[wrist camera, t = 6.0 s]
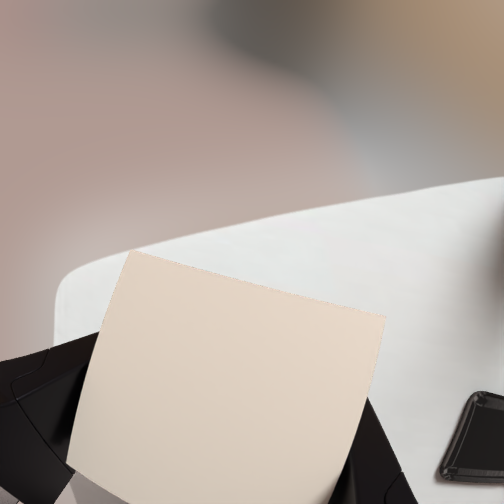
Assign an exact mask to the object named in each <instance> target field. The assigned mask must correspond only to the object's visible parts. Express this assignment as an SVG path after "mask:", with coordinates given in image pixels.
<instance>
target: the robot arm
mask: <svg viewBox="0 0 504 504" xmlns="http://www.w3.org/2000/svg"><path fill="white" fill-rule="evenodd" d="M99 332H100V331H99ZM99 332H96V333H93V334H90V335H88V336H85V337H82V338H79V339H76V340H73V341H70V342H67V343H64V344H61V345H58V346H55V347H52V348H50V350H49V349H46V350H43V351H40V352H36V353H33V354H30V355H26V356H23V357H18V358H14V359H11V360H5V361H1V362H0V504H17V503H18V502H19V501H21V502H22V503H24V504H54V503H55V501H56V500H57V498H58V497H59V495H60V494H61V492H62V491H63V489H64V488H65V487H66V485H67V484H68V482H69V481H70V479H71V478H72V476H73V474H74V473H75V472H76V470H75V469H73V468H72V467H70V466H69V465H68V464H66V461H67V455H68V450H69V445H70V439H71V435H72V430H73V425H74V421H75V416H76V412H77V408H78V404H79V400H80V396H81V392H82V388H83V385H84V381H85V377H86V374H87V370H88V367H89V363H90V360H91V357H92V354H93V350H94V347H95V344H96V341H97V338H98V335H99ZM401 471H402V469H401V467H400V465H399V462H398V460H397V458H396V456H395V454H394V451H393V449H392V447H391V445H390V443H389V441H388V439H387V436H386V434H385V432H384V430H383V428H382V426H381V424H380V422H379V420H378V417H377V415H376V413H375V411H374V409H373V407H372V405H371V403H370V401H369V399H368V397H367V399H366V402H365V405H364V409H363V412H362V415H361V418H360V421H359V424H358V428H357V431H356V433H355V436H354V439H353V442H352V445H351V448H350V450H349V453H348V456H347V458H346V461H345V464H344V466H343V469H342V471H341V474H340V476H339V479H338V481H337V483H336V486H335V488H334V490H333V493H332V495H331V497H330V499H329V502H328V504H418V502H417V500H416V498H415V497H414V495H413V492H412V490H411V488H410V486H409V484H408V482H407V480H406V478H405V475H404V473H403V472H401Z"/></svg>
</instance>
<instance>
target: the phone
mask: <svg viewBox="0 0 504 504" xmlns="http://www.w3.org/2000/svg"><path fill="white" fill-rule="evenodd" d="M440 474H441V476H442V477H443V478H445V479H447V480H451V481H463V482H477V483H478V482H481V483H504V396H501V395H497V394H493V393H489V392H486V391H477V392H475V393H473V394H472V395H471V396H470V398H469V399H468V401H467V404H466V407H465V410H464V412H463V415H462V418H461V420H460V423H459V426H458V428H457V431H456V433H455V435H454V438H453V440H452V443H451V445H450V447H449V449H448V451H447V454H446V456H445V458H444V460H443V462H442V464H441V467H440Z"/></svg>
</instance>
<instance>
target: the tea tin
mask: <svg viewBox="0 0 504 504" xmlns="http://www.w3.org/2000/svg"><path fill="white" fill-rule="evenodd" d="M385 319H386V316H383V315H378V314H374V313H370V312H365V311H361V310H357V309H353V308H348V307H344V306H340V305H336V304H332V303H328V302H324V301H319V300H315V299H311V298H307V297H303V296H299V295H295V294H291V293H287V292H284V291H280V290H276V289H272V288H268V287H264V286H260V285H257V284H253V283H249V282H245V281H241V280H238V279H234V278H230V277H227V276H223V275H219V274H216V273H212V272H208V271H205V270H201V269H197V268H194V267H190V266H187V265H183V264H180V263H176V262H173V261H169V260H166V259H162V258H159V257H155V256H152V255H148V254H145V253H142V252H138V251H135V250H130V252H129V255H128V257H127V260H126V262H125V264H124V267H123V269H122V272H121V274H120V277H119V279H118V282H117V284H116V287H115V290H114V292H113V295H112V298H111V300H110V303H109V306H108V309H107V311H106V314H105V317H104V320H103V323H102V326H101V329H100V332H99V335H98V338H97V341H96V344H95V347H94V350H93V354H92V357H91V360H90V363H89V367H88V370H87V374H86V377H85V381H84V385H83V388H82V392H81V396H80V400H79V404H78V408H77V412H76V416H75V421H74V425H73V430H72V435H71V439H70V445H69V450H68V455H67V461H66V464H68V465H69V466H70V467H72V468H73V469H75V470H76V471H77V472H79V473H80V474H82V475H83V476H85V477H86V478H88V479H89V480H91V481H92V482H94V483H95V484H97V485H98V486H100V487H102V488H103V489H105V490H107V491H108V492H110V493H112V494H113V495H115V496H117V497H118V498H120V499H122V500H124V501H126V502H127V503H129V504H328V502H329V499H330V497H331V495H332V493H333V490H334V488H335V486H336V483H337V481H338V479H339V476H340V474H341V471H342V469H343V466H344V464H345V461H346V458H347V456H348V453H349V450H350V448H351V445H352V442H353V439H354V436H355V433H356V431H357V428H358V424H359V421H360V418H361V415H362V412H363V409H364V405H365V402H366V399H367V395H368V392H369V388H370V384H371V381H372V377H373V373H374V369H375V365H376V361H377V357H378V353H379V348H380V344H381V339H382V334H383V330H384V325H385Z"/></svg>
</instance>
